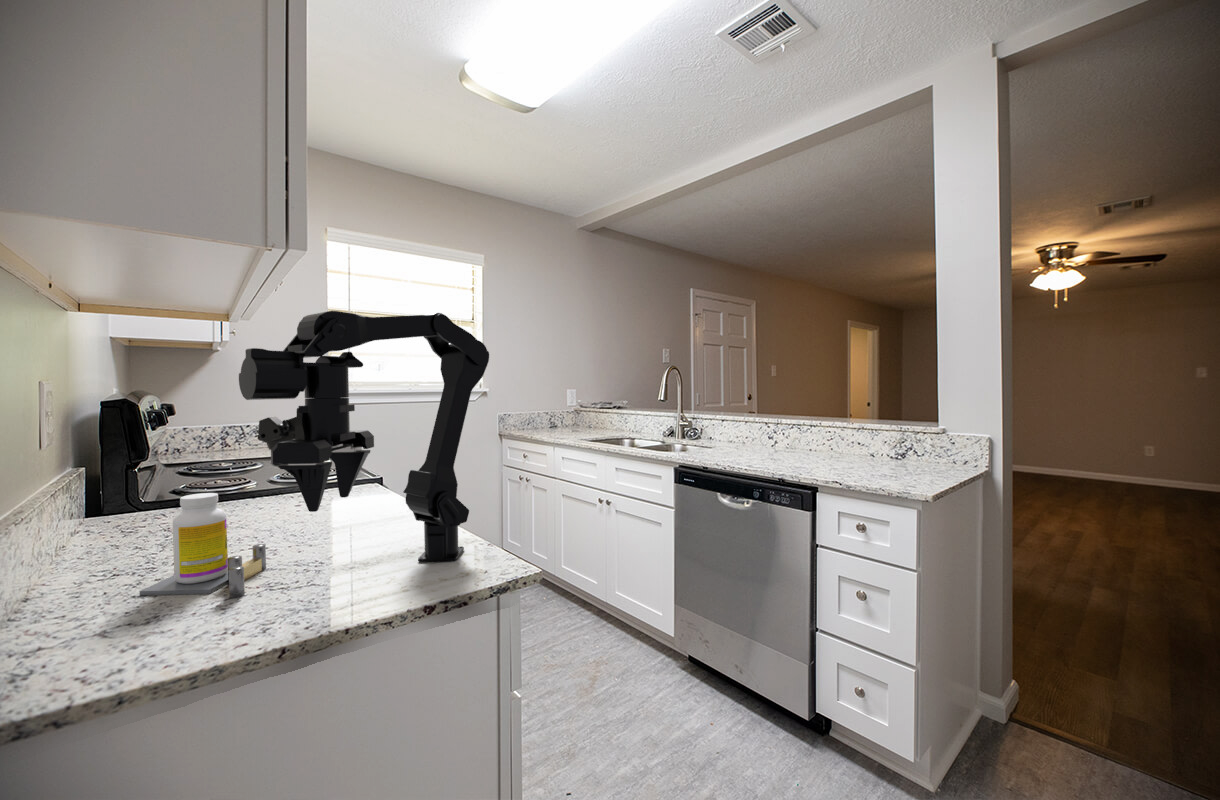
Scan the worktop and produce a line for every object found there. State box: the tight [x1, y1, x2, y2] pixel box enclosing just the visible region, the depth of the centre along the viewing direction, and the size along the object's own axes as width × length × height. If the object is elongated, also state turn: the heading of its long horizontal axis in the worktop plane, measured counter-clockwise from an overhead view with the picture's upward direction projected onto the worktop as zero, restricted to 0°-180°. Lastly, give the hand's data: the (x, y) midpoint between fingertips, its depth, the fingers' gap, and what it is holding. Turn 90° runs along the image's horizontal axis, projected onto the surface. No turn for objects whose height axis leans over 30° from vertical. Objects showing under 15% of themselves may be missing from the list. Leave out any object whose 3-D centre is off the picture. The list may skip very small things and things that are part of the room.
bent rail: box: [227, 543, 267, 599], centre depth 81 cm, size 13×5×4 cm, turn 2°
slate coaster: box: [138, 571, 228, 596], centre depth 82 cm, size 10×10×1 cm
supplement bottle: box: [172, 492, 229, 584], centre depth 82 cm, size 7×7×13 cm
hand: (329, 503), depth 77 cm, fingers open, 9 cm apart
